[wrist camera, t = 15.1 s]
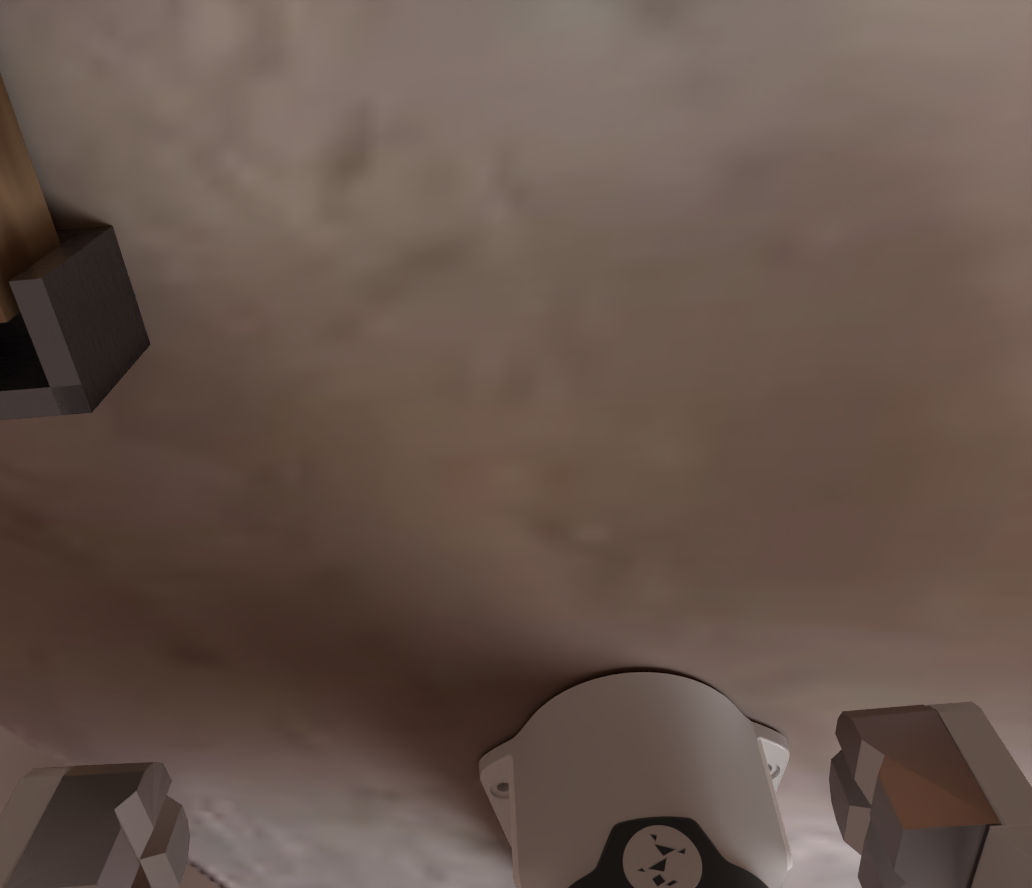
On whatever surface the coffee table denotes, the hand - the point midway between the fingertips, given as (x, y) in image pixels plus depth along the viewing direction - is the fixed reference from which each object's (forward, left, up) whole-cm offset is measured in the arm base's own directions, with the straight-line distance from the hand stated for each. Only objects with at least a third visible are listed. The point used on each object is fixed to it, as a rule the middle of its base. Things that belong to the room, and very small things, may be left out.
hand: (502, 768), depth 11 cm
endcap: (-3, +20, -29) cm, 35 cm away
